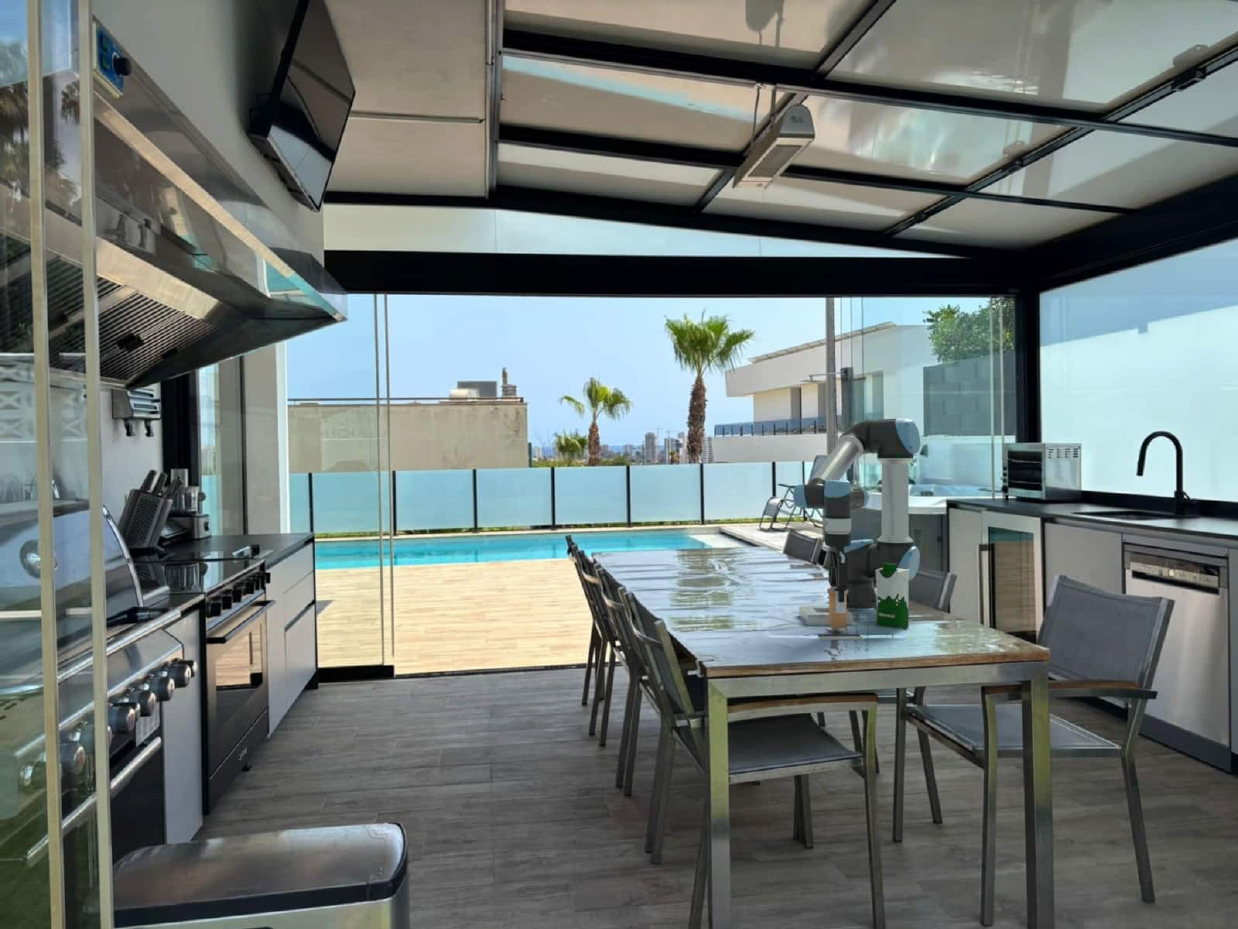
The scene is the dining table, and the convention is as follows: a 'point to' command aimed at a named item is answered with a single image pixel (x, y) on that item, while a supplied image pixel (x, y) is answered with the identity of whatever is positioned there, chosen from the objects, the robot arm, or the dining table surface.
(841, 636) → the mat
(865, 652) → the dining table surface
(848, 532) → the robot arm
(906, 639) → the dining table surface
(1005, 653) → the dining table surface
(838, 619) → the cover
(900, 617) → the milk carton
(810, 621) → the housing
